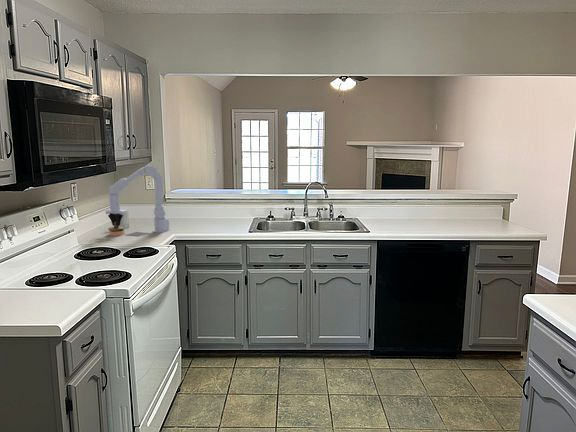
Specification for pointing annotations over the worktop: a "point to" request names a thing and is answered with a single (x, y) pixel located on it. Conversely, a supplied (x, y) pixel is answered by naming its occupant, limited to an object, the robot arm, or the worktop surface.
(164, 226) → the robot arm
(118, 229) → the lid
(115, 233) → the bowl
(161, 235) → the worktop surface
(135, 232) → the mat
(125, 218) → the supplement box
